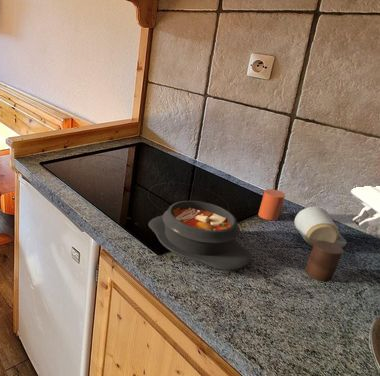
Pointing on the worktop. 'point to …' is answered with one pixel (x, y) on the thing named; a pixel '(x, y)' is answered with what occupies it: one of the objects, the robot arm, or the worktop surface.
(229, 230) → the casserole
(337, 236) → the ceramic mug
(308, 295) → the worktop surface
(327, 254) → the walnut post
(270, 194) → the terracotta post
